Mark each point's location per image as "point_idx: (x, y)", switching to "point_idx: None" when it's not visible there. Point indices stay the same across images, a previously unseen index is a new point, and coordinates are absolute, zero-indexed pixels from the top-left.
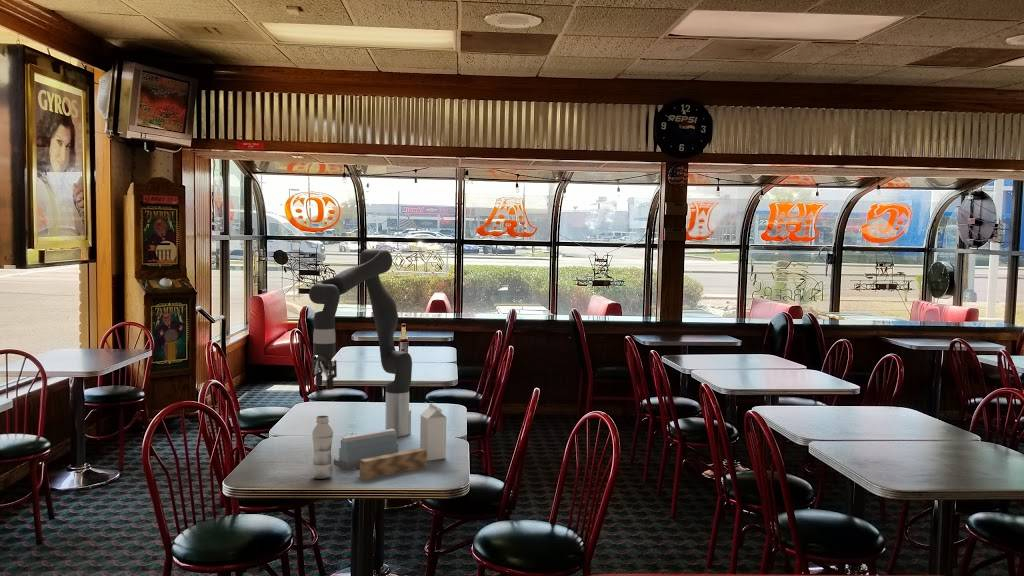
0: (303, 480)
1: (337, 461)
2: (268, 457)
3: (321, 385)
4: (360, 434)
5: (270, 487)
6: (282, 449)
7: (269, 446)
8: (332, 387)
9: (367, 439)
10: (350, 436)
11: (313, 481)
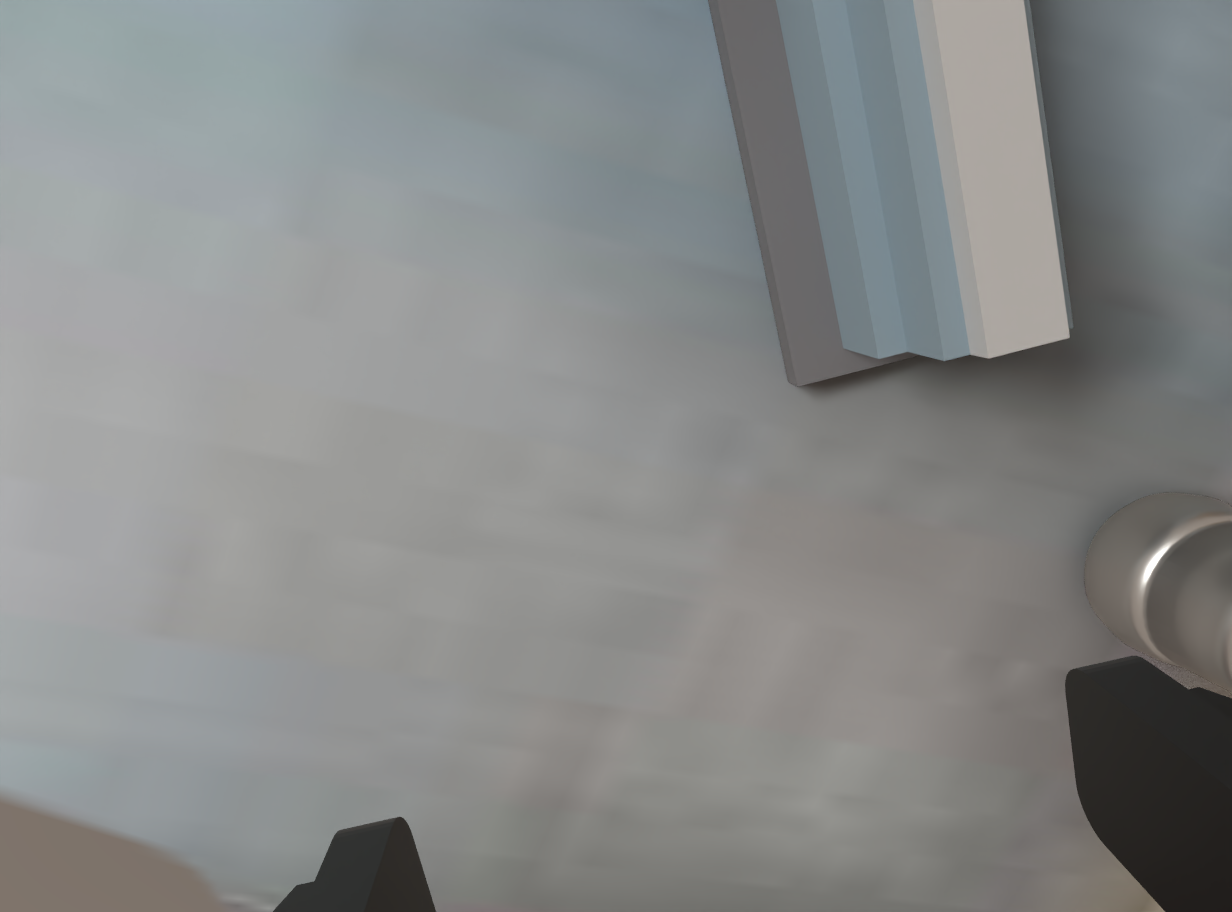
0: None
1: (863, 368)
2: (410, 817)
3: (404, 824)
4: (973, 108)
5: None
6: (190, 686)
7: (54, 767)
8: (1220, 706)
9: (1031, 48)
10: (1011, 255)
11: None
